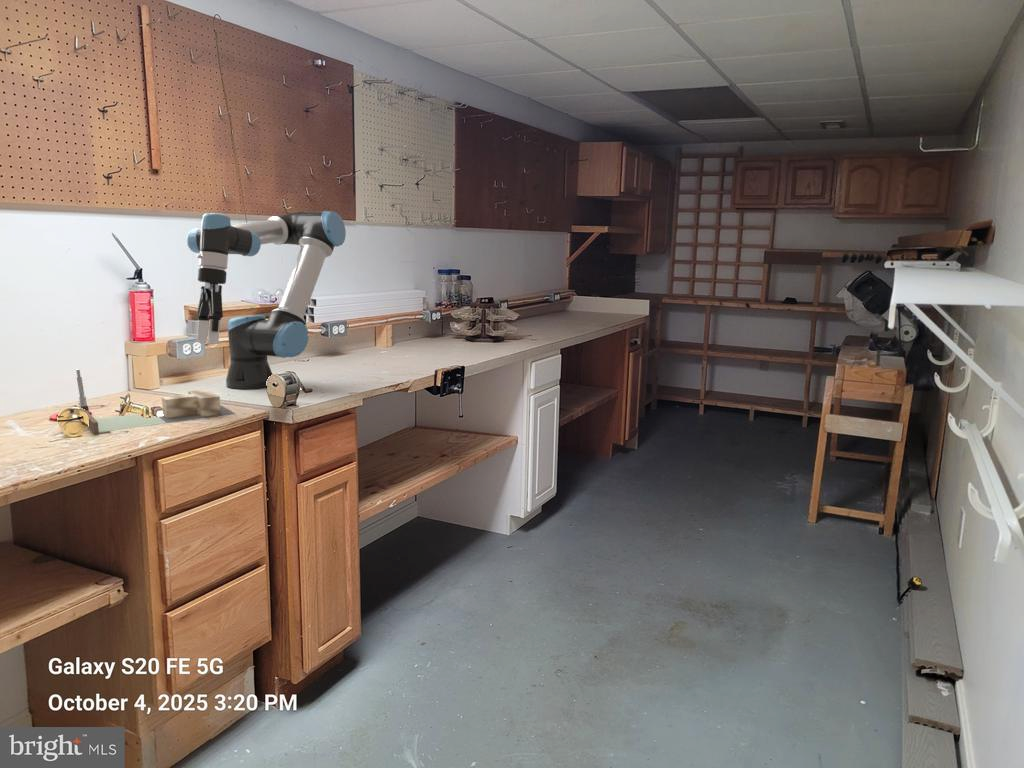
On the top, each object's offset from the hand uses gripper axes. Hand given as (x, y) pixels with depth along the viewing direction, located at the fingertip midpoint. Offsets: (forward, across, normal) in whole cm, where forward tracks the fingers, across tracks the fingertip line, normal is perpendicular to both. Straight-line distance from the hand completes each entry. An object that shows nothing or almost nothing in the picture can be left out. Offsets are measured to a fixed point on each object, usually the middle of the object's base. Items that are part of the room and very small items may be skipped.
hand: (207, 343), depth 212 cm
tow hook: (+24, -10, -32) cm, 41 cm away
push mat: (+21, +4, -11) cm, 25 cm away
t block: (+20, +4, -4) cm, 21 cm away
